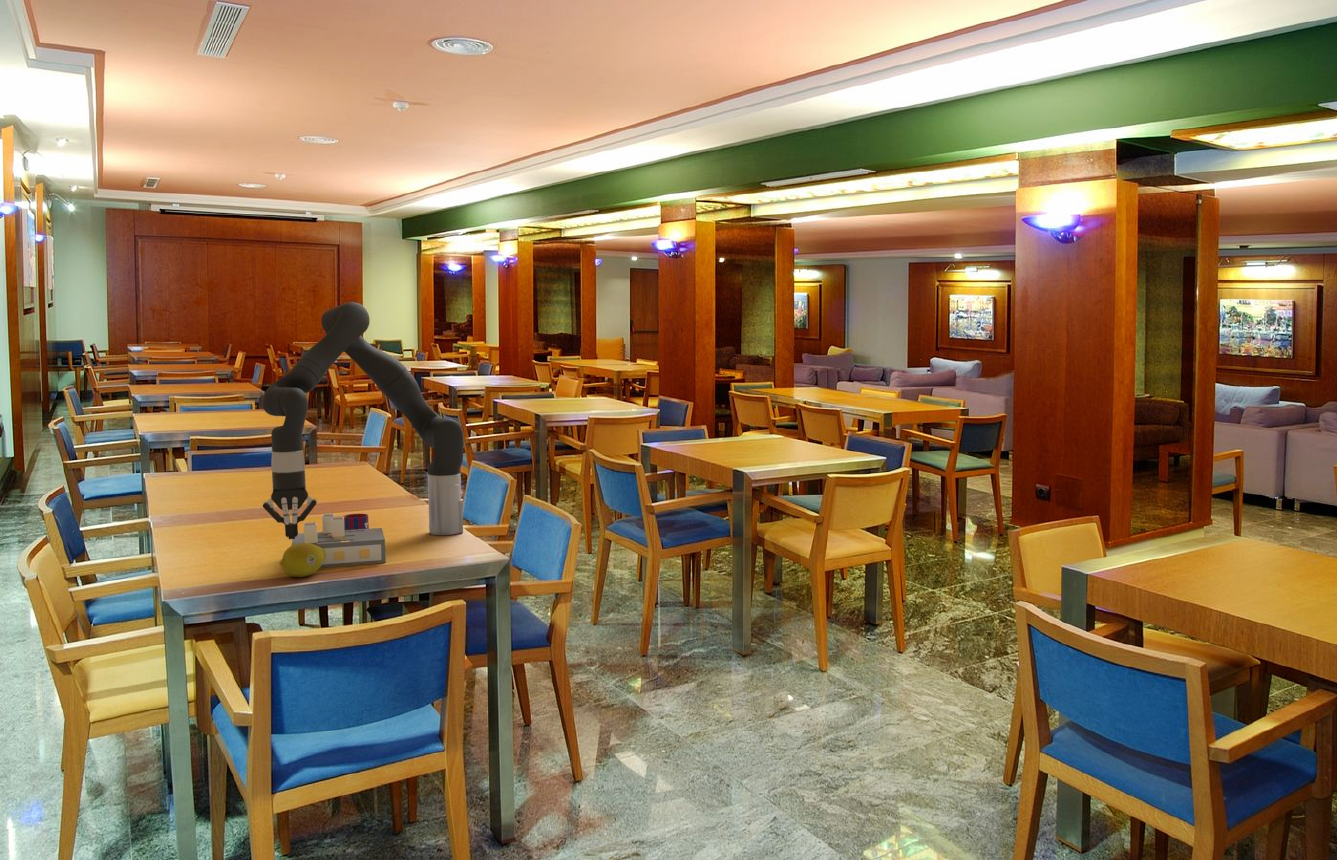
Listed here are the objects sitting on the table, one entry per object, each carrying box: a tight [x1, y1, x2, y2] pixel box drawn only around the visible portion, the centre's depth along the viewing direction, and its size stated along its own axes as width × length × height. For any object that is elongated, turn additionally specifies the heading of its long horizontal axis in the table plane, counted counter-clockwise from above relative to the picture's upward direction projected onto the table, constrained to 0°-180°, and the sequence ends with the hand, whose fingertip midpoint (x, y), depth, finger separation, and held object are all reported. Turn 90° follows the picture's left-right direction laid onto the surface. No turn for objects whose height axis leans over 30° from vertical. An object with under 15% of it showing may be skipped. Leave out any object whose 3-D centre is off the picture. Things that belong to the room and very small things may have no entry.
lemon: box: [279, 543, 326, 578], centre depth 233 cm, size 11×8×8 cm
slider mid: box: [332, 515, 345, 537], centre depth 249 cm, size 3×3×5 cm
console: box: [290, 527, 387, 569], centre depth 249 cm, size 22×16×6 cm
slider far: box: [321, 512, 336, 534], centre depth 253 cm, size 3×3×5 cm
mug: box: [343, 513, 370, 530], centre depth 273 cm, size 7×10×7 cm
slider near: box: [303, 521, 318, 543], centre depth 241 cm, size 3×3×5 cm
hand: (291, 538), depth 240 cm, fingers closed
